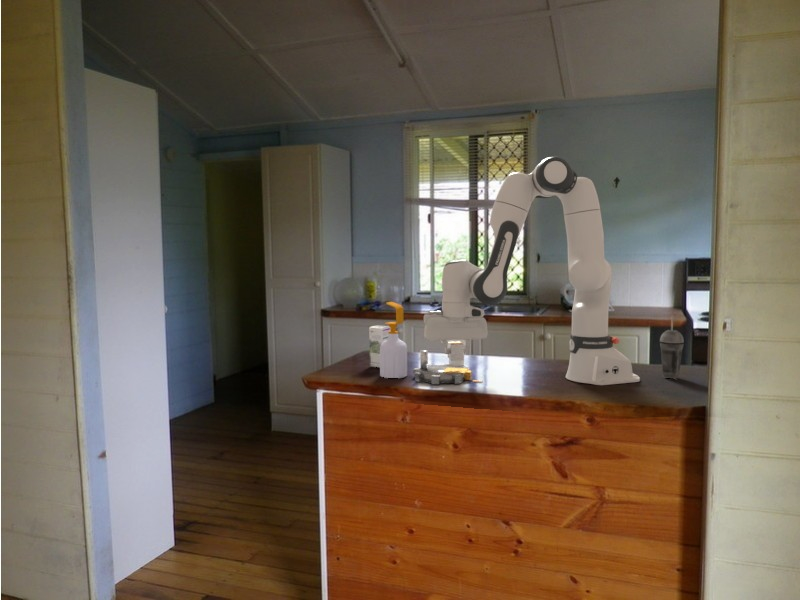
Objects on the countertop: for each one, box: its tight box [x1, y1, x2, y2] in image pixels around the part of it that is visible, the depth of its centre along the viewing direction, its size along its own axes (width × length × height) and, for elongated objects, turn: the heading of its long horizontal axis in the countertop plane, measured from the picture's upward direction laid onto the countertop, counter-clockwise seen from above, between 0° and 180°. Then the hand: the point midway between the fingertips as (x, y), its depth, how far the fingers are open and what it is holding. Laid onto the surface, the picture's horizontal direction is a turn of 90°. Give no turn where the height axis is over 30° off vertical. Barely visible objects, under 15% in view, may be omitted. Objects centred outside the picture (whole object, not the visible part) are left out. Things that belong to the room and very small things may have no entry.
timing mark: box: [471, 379, 483, 383], centre depth 194 cm, size 3×1×1 cm, turn 67°
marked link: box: [447, 342, 465, 361], centre depth 197 cm, size 4×6×5 cm, turn 7°
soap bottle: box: [379, 301, 408, 379], centre depth 203 cm, size 9×9×25 cm
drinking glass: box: [447, 340, 466, 367], centre depth 219 cm, size 7×7×15 cm
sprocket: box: [412, 349, 473, 385], centre depth 199 cm, size 19×19×8 cm
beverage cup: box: [659, 314, 685, 379], centre depth 196 cm, size 7×7×20 cm
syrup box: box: [368, 324, 391, 369], centre depth 219 cm, size 6×6×14 cm
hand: (455, 353), depth 197 cm, fingers closed on marked link, 4 cm apart
